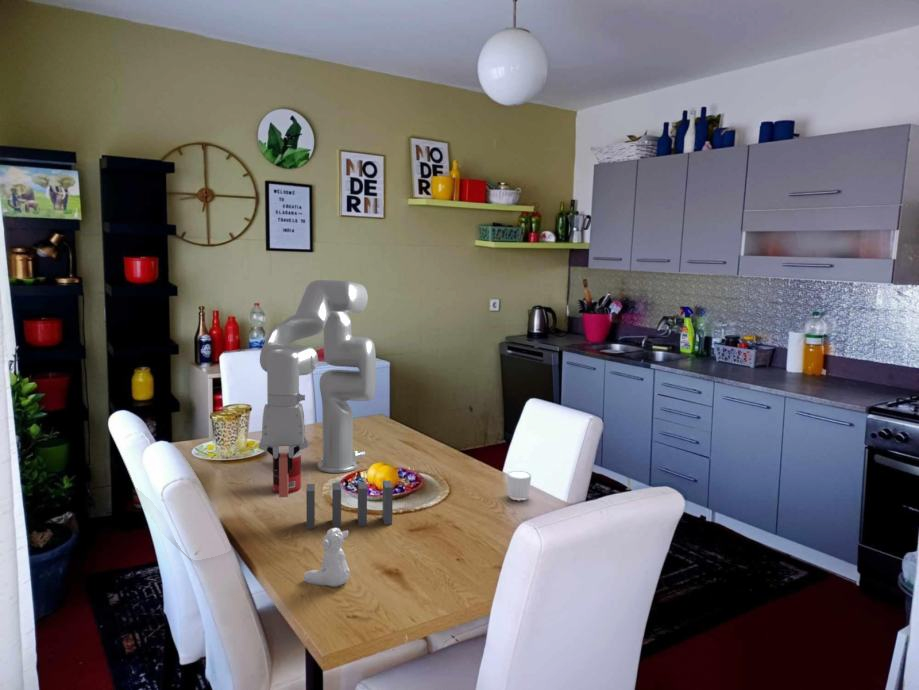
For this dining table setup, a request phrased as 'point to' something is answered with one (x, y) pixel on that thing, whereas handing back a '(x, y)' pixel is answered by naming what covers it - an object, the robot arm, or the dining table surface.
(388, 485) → the domino
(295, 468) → the canned food
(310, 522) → the domino
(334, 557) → the sitting furry creature
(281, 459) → the red domino
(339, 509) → the domino
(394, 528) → the dining table surface
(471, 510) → the dining table surface
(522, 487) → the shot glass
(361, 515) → the domino
